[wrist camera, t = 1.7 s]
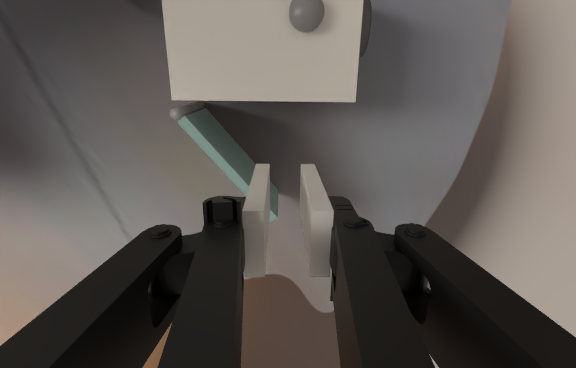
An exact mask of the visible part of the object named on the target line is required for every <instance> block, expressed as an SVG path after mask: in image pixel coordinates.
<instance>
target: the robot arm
mask: <svg viewBox="0 0 576 368" xmlns="http://www.w3.org/2000/svg"><path fill="white" fill-rule="evenodd" d="M203 215H204V227H203V230H202V232H199V233H196V234H191V235H184V236H182V233H181V229H180V228H179V227H177V226H174V225H165V224H162V225H156V226H154V227H151V228H149V229H147V230H145V231H143V232H142V233H140V234H139V235H138V236H137V237H135V238H134V239H133V240H132V241H131V242H129V243H128V244H127V245H126V246H124V247H123V248H122V249H121V250H119V251H118V252H117V253H116V254H114V255H113V256H112V257H111V258H109V259H108V260H107V261H106V262H104V263H103V264H102V265H101V266H99V267H98V268H97V269H96V270H94V271H93V272H92V273H91V274H89V275H88V276H87V277H86V278H84V279H83V280H82V281H81V282H79V283H78V284H77V285H76V286H74V287H73V288H72V289H71V290H70V291H68V292H67V293H66V294H65V295H63V296H62V297H61V298H60V299H58V300H57V301H56V302H55V303H53V304H52V305H51V306H50V307H48V308H47V309H46V310H45V311H43V312H42V313H41V314H40V315H38V316H37V317H36V318H35V319H33V320H32V321H31V322H30V323H28V324H27V325H26V326H25V327H23V328H22V329H21V330H20V331H18V332H17V333H16V334H15V335H13V336H12V337H11V338H10V339H8V340H7V341H6V342H5V343H4V344H2V345H1V346H0V368H142V367H143V366H144V364H145V362H146V361H147V359H148V358H149V356H150V355H151V353H152V352H153V350H154V349H155V347H156V346H157V344H158V342H159V341H160V339H161V338H162V336H163V335H164V333H165V332H166V330H167V329H168V327H169V326H170V324H171V323H172V325H171V328H170V331H169V334H168V337H167V340H166V343H165V346H164V349H163V353H162V356H161V359H160V362H159V365H158V368H241V346H242V318H243V291H244V290H243V289H244V278H243V272H244V273H245V277H265V266H266V253H267V241H268V228H269V216H270V164H256V166H255V169H254V172H253V176H252V179H251V183H250V186H249V189H248V193H247V196H246V197H232V196H216V197H212V198H209V199H207V200H205V201H204V202H203ZM300 215H301V222H302V228H303V235H304V241H305V248H306V254H307V261H308V268H309V274H310V277H330V265H331V269H332V282H331V297H330V301H333V303H334V312H335V320H336V329H337V339H338V348H339V357H340V367H341V368H435V366H434V364H433V362H432V359H431V357H432V358H433V360H434V361H435V362H436V364H437V365H438V367H439V368H576V337H574V336H573V335H572V334H570V333H569V332H568V331H566V330H565V329H563V328H562V327H561V326H560V325H558V324H557V323H555V322H554V321H553V320H551V319H550V318H549V317H547V316H546V315H545V314H543V313H542V312H541V311H539V310H538V309H537V308H535V307H534V306H533V305H531V304H530V303H529V302H527V301H526V300H525V299H523V298H522V297H521V296H519V295H518V294H516V293H515V292H514V291H513V290H511V289H510V288H508V287H507V286H506V285H504V284H503V283H502V282H500V281H499V280H498V279H496V278H495V277H494V276H492V275H491V274H490V273H488V272H487V271H485V270H484V269H483V268H482V267H480V266H479V265H477V264H476V263H475V262H474V261H472V260H471V259H470V258H468V257H467V256H466V255H464V254H463V253H461V252H460V251H459V250H457V249H456V248H455V247H453V246H452V245H451V244H449V243H448V242H447V241H445V240H444V239H443V238H441V237H440V236H439V235H437V234H436V233H435V232H433V231H432V230H430V229H428V228H426V227H423V226H421V225H419V224H416V225H415V224H413V223H410V224H401V225H398V226H397V227H396V228H395V234H394V235H391V234H385V233H380V232H376V231H375V230H374V228H373V225H372V224H371V223H370V221H368V220H366V219H364V218H361V217H359V216H358V215H357V213H356V211H355V210H354V208H353V206H352V204H351V203H350V201H349V200H348V199H346V198H344V197H334V196H327V193H326V191H325V189H324V186H323V184H322V181H321V179H320V176H319V174H318V172H317V169H316V167H315V164H301V176H300ZM428 281H429V284H430V288H431V291H430V290H429V289H428V288H427V282H428ZM172 321H173V322H172ZM429 354H430V355H429ZM430 356H431V357H430Z"/></svg>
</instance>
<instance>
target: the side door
mask: <svg viewBox="0 0 576 368" xmlns="http://www.w3.org/2000/svg"><path fill="white" fill-rule="evenodd" d="M170 116H171V118H172V119H174V120H179V121H178V124H179V125H180V126H181V127H182V128H183V129H184V130H185V131H186V132H187V133H188V134H189V135H190V136H191V138H192V139H193V140H194V141H195V142H196V143H197V144H198V145H199V146H200V147H201V148H202V149H203V150H204V152H205V153H206V154H207V155H208V156H209V157H210V158H211V159H212V160H213V161H214V162H215V163H216V164H217V166H218V167H219V168H220V169H221V170H222V171H223V172H224V173H225V174H226V175H227V176H228V177H229V178H230V179H231V181H232V182H233V183H234V184H235V185H236V186H237V187H238V188H239V189H240V190H241V191H242V192H243V193H244V195H245V196H247V193H248V189H249V186H250V183H251V179H252V176H253V172H254V169H255V166H256V164H255V163H254V162H253V160H252V159H251V158H250V157H249V156H248V155H247V154H246V153H245V151H244V150H243V149H242V148H241V147H240V146H239V145H238V144H237V142H236V141H235V140H234V139H233V138H232V137H231V136H230V134H229V133H228V132H227V131H226V130H225V129H224V128H223V127H222V125H221V124H220V123H219V122H218V121H217V120H216V119H215V118H214V116H213V115H212V114H211V113H210V112H209V111H208V110H207V108H205V106H204V104H203V103H202V102H195V103H191V104H187V105H183V106H179V107H175V108H172V109H171V111H170ZM276 218H278V189H277V188H276V186H275V185H274V184H273V183H272V182H271V181H270V216H269V221H270V223H271V222H272V221H274V220H275V219H276Z"/></svg>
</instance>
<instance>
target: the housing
mask: <svg viewBox="0 0 576 368" xmlns="http://www.w3.org/2000/svg"><path fill="white" fill-rule="evenodd" d="M162 10H163V19H164V29H165V39H166V48H167V58H168V68H169V77H170V87H171V97H172V100H199V101H212V102H301V103H333V102H355V101H356V89H357V76H358V64H359V57H362V56H363V54H364V52H365V50H366V47H367V43H368V39H369V34H370V26H371V2H370V0H162Z"/></svg>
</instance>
